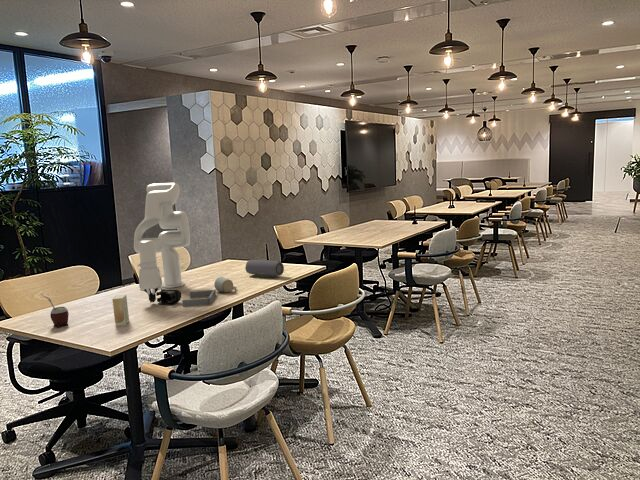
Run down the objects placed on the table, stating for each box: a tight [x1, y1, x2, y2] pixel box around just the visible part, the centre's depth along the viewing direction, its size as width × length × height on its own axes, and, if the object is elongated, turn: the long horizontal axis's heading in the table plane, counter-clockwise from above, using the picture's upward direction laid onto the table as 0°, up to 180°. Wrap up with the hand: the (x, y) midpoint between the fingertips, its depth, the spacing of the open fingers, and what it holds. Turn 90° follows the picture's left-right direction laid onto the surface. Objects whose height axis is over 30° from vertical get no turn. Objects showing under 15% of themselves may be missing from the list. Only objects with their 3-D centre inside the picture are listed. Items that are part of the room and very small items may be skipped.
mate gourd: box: [42, 295, 70, 329], centre depth 222 cm, size 8×8×15 cm
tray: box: [181, 289, 217, 307], centre depth 254 cm, size 18×13×3 cm
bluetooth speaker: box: [244, 259, 285, 278], centre depth 303 cm, size 23×9×10 cm, turn 58°
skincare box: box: [112, 294, 130, 327], centre depth 220 cm, size 6×4×12 cm
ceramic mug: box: [213, 276, 237, 294], centre depth 271 cm, size 11×8×8 cm
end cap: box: [155, 288, 182, 306], centre depth 253 cm, size 10×7×7 cm
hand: (152, 301), depth 253 cm, fingers closed
